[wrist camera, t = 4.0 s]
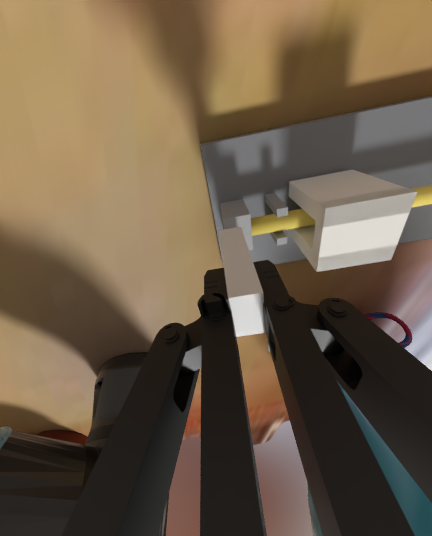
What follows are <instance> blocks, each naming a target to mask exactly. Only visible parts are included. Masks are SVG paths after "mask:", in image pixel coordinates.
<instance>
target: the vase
mask: <svg viewBox="0 0 432 536" xmlns="http://www.w3.org/2000/svg"><path fill="white" fill-rule="evenodd" d="M337 382H338V381H337ZM338 384H339V383H338ZM339 386H340V388H341V390H342V392H343V394H344V396H345V398H346V400H347V402H348V404H349V406H350V408H351V410H352V412H353V414H354V416H355V418H356V420H357V422H358V424H359V426H360V428H361V430H362V432H363V434H364V436H365V438H366V440H367V442H368V444H369V446H370V448H371V450H372V451H373V453H374V455H375V457H376V459H377V461H378V463H379V465H380V467H381V469H382V471H383V473H384V475H385V477H386V479H387V481H388V483H389V485H390V487H391V489H392V491H393V493H394V495H395V497H396V499H397V501H398V503H399V505H400V507H401V509H402V511H403V513H404V515H405V517H406V519H407V521H408V523H409V525H410V527H411V529H412V531H413V533H414V535H415V536H432V503H431V502H430V500H429V499H428V498H427V496H426V495H425V494H424V493H423V491H422V490H421V489H420V487H419V486H418V485H417V484H416V482H415V481H414V480H413V478H412V477H411V476H410V475H409V473H408V472H407V471H406V469H405V468H404V467H403V465H402V464H401V463H400V462H399V460H398V459H397V458H396V456H395V455H394V454H393V453H392V451H391V450H390V449H389V447H388V446H387V445H386V443H385V442H384V441H383V440H382V438H381V437H380V436H379V434H378V433H377V432H376V431H375V429H374V428H373V427H372V425H371V424H370V423H369V422H368V420H367V419H366V418H365V416H364V415H363V414H362V412H361V411H360V410H359V409H358V407H357V406H356V405H355V403H354V402H353V401H352V400H351V398H350V397H349V396H348V394H347V393H346V392H345V390H344V389H343V388H342V387H341V385H340V384H339ZM281 391H282V390H281ZM307 494H308V504H309V513H310V520H311V526H312V532H313V536H323V535H322V532H321V528H320V525H319V521H318V518H317V514H316V511H315V507H314V504H313V500H312V496H311V493H310V489H309V486H308V482H307Z"/></svg>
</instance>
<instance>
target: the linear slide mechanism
mask: <svg viewBox="0 0 432 536" xmlns="http://www.w3.org/2000/svg"><path fill="white" fill-rule="evenodd" d="M201 150H202V156H203V161H204V166H205V172H206V177H207V182H208V188H209V193H210V198H211V203H212V209H213V214H214V219H215V225H216V230H217V235H218V241H219V246H220V251H221V257H222V249H221V242H220V235H219V230H225V229H230V228H236V227H241V229H242V232H243V234H244V237H245V240H246V243H247V246H248V249H249V252H250V255H251V258H252V261H253V262H257V261H263V260H269V261H271V262H272V263H273V264H274V265H275V264H281V263H287V262H293V261H299V260H305V259H307V258H306V257H305V256H304V254H303V253H302V251H301V250H300V249H299V247H298V246H297V245H296V243H295V242H294V241H293V239H292V238H291V237H290V235H289V234H288V229H294V228H299V227H305V226H311V225H315V222H316V221H315V220H314V219H313V218H312V217H311V216H310V215H309V214H307V213H306V212H305V211H304V210H303V209H302V208H301V207H300V206H299V205H298V204H297V203H295V202H294V201H293V200H292V199H291V198H290V197H289V181H295V180H300V179H305V178H310V177H316V176H321V175H326V174H331V173H336V172H342V171H347V170H352V169H353V170H356V171H359V172H361V173H364V174H367V175H370V176H373V177H376V178H379V179H382V180H385V181H388V182H391V183H394V184H397V185H400V186H403V187H406V188H408V189H411V190H414V191H417V195H416V197H415V200H414V202H413V205H412V207H411V210H410V213H409V215H408V218H407V220H406V223H405V226H404V228H403V231H402V233H401V236H400V238H399V241H398V244H400V243H406V242H412V241H418V240H424V239H430V238H432V96H427V97H422V98H417V99H412V100H408V101H403V102H398V103H393V104H388V105H384V106H379V107H374V108H369V109H364V110H359V111H355V112H350V113H345V114H340V115H335V116H331V117H326V118H321V119H316V120H311V121H306V122H302V123H297V124H292V125H287V126H282V127H277V128H273V129H268V130H263V131H258V132H253V133H249V134H244V135H239V136H234V137H229V138H224V139H220V140H215V141H210V142H205V143H201ZM222 262H223V257H222ZM223 267H224V264H223Z"/></svg>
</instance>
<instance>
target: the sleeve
mask: <svg viewBox="0 0 432 536" xmlns="http://www.w3.org/2000/svg"><path fill="white" fill-rule="evenodd" d="M416 195H417V191H414V190H411V189H408V188H406V187H403V186H400V185H397V184H394V183H391V182H388V181H385V180H382V179H379V178H376V177H373V176H370V175H367V174H364V173H361V172H359V171H356V170H353V169H352V170H347V171H342V172H336V173H331V174H326V175H321V176H316V177H310V178H305V179H300V180H295V181H289V197H290V198H291V199H292V200H293V201H294V202H295V203H297V204H298V205H299V206H300V207H301V208H302V209H303V210H304V211H305V212H306V213H307V214H309V215H310V216H311V217H312V218H313V219H314V220H315V221H316V222H315V225H311V226H305V227H299V228H294V229H288V234H289V235H290V237H291V238H292V239H293V241H294V242H295V243H296V245H297V246H298V247H299V249H300V250H301V251H302V253H303V254H304V256H305V257H306V258H307V260H308V261H309V262H310V264H311V265H312V266H313V268H314V269H315V270H316V272H320V271H326V270H332V269H338V268H345V267H351V266H357V265H363V264H369V263H375V262H381V261H387V260H391V259H392V257H393V254H394V251H395V249H396V246H397V244H398V241H399V238H400V236H401V233H402V231H403V228H404V226H405V223H406V220H407V218H408V215H409V213H410V210H411V207H412V205H413V202H414V200H415V197H416Z"/></svg>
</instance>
